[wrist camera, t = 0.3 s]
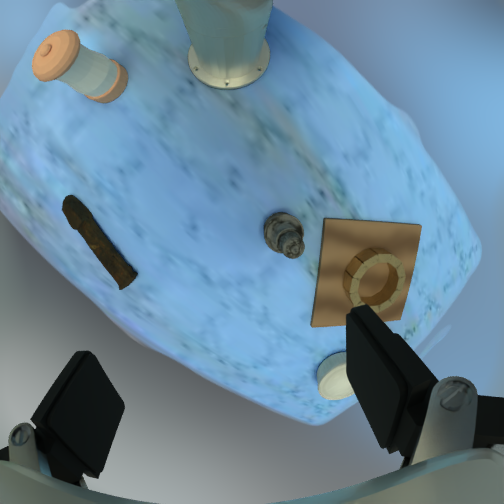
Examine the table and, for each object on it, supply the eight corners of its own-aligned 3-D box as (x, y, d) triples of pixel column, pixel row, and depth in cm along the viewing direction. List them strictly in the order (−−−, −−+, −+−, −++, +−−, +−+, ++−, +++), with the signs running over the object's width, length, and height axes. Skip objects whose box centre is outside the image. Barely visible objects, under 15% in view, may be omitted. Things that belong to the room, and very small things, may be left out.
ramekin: (338, 388, 56) (345, 404, 51) (302, 377, 53) (307, 394, 48) (369, 355, 53) (378, 370, 48) (334, 340, 51) (342, 356, 46)
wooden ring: (347, 247, 43) (356, 253, 40) (400, 248, 44) (410, 254, 41) (338, 305, 47) (345, 315, 43) (388, 302, 47) (396, 310, 44)
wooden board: (323, 218, 43) (325, 219, 42) (418, 224, 44) (421, 225, 43) (310, 324, 49) (311, 327, 48) (398, 317, 50) (400, 319, 49)
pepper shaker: (93, 70, 32) (28, 36, 14) (129, 60, 32) (74, 12, 14) (89, 107, 34) (16, 86, 16) (126, 98, 35) (61, 65, 16)
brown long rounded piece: (141, 273, 44) (133, 284, 40) (126, 284, 45) (117, 295, 40) (82, 185, 39) (68, 187, 34) (69, 199, 39) (54, 203, 35)
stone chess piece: (254, 227, 42) (261, 250, 31) (282, 202, 41) (300, 217, 30) (277, 253, 44) (292, 284, 33) (305, 230, 43) (329, 253, 32)
